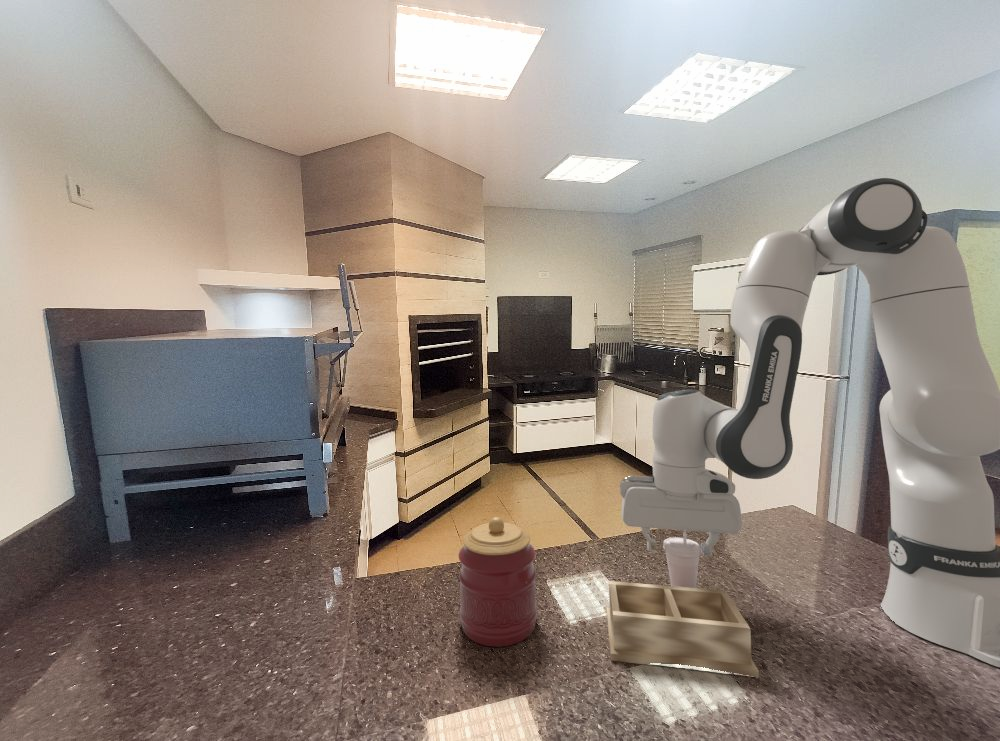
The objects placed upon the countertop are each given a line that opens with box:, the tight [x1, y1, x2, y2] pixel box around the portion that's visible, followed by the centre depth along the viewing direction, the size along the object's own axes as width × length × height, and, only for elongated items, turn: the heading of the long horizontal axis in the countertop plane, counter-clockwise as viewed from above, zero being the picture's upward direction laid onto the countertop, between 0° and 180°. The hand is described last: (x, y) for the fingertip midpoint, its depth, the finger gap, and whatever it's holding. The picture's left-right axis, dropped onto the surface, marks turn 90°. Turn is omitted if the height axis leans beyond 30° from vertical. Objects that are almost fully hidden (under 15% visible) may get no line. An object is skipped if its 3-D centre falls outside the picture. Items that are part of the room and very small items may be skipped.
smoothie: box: [662, 530, 702, 588], centre depth 72 cm, size 6×6×14 cm
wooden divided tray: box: [605, 580, 760, 678], centre depth 60 cm, size 19×12×6 cm, turn 78°
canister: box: [457, 516, 538, 648], centre depth 66 cm, size 13×13×18 cm
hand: (678, 552), depth 73 cm, fingers open, 8 cm apart
